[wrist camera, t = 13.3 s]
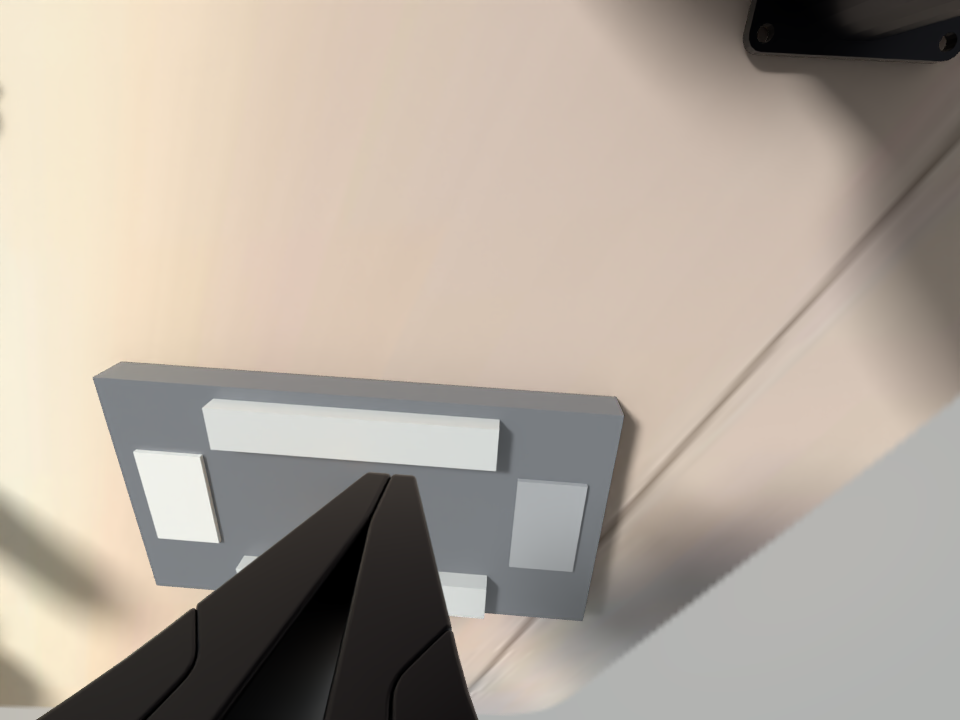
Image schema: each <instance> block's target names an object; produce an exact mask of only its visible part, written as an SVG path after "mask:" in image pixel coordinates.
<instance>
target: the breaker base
mask: <svg viewBox="0 0 960 720" xmlns="http://www.w3.org/2000/svg"><path fill="white" fill-rule="evenodd" d="M93 380H94V383H95V387H96V390H97V393H98V396H99V400H100V403H101V406H102V409H103V413H104V416H105V419H106V422H107V426H108V429H109V432H110V435H111V439H112V442H113V445H114V448H115V451H116V455H117V458H118V461H119V464H120V468H121V471H122V474H123V477H124V481H125V484H126V487H127V490H128V494H129V497H130V500H131V503H132V507H133V510H134V513H135V516H136V520H137V523H138V526H139V529H140V533H141V536H142V539H143V542H144V545H145V549H146V552H147V555H148V558H149V562H150V565H151V568H152V571H153V575H154V578H155V581H156V584H157V585H160V586H172V587H184V588H196V589H208V590H216V589H217V588H219V587H220V586H221V585H223V584H224V583H225V582H226V581H228V580H229V579H230V578H232V577H233V576H234V575H235V574H237V573H238V572H239V571H241V570H242V569H243V568H244V567H246V566H247V565H248V564H250V563H251V562H252V561H254V560H255V559H256V558H257V557H259V556H260V555H261V554H263V553H264V552H265V551H266V550H268V549H269V548H270V547H272V546H273V545H274V544H275V543H277V542H278V541H279V540H281V539H282V538H283V537H284V536H286V535H287V534H288V533H290V532H291V531H292V530H293V529H295V528H296V527H297V526H299V525H300V524H301V523H302V522H304V521H305V520H306V519H308V518H309V517H310V516H311V515H313V514H314V513H315V512H317V511H318V510H319V509H320V508H322V507H323V506H324V505H326V504H327V503H328V502H329V501H331V500H332V499H333V498H335V497H336V496H337V495H339V494H340V493H341V492H342V491H344V490H345V489H346V488H348V487H349V486H350V485H351V484H353V483H354V482H355V481H357V480H358V479H359V478H360V477H362V476H363V475H364V474H366V473H368V472H376V473H388V474H390V475H391V476H392V475H394V474H402V475H413V476H415V477H416V480H417V484H418V488H419V492H420V496H421V501H422V505H423V509H424V513H425V517H426V522H427V526H428V530H429V534H430V539H431V543H432V547H433V551H434V555H435V560H436V564H437V568H438V572H439V576H440V581H441V585H442V589H443V593H444V598H445V602H446V606H447V610H448V614H449V616H457V617H469V618H481V619H484V613H492V614H504V615H516V616H528V617H540V618H552V619H564V620H575V621H583V617H584V612H585V607H586V602H587V597H588V592H589V587H590V582H591V578H592V573H593V568H594V563H595V558H596V553H597V548H598V543H599V538H600V533H601V528H602V523H603V518H604V513H605V509H606V504H607V499H608V494H609V489H610V484H611V479H612V474H613V469H614V464H615V459H616V454H617V449H618V444H619V439H620V435H621V430H622V425H623V420H624V414H623V412H622V409H621V407H620V405H619V403H618V400H617V398H616V397H609V396H595V395H581V394H567V393H553V392H539V391H525V390H511V389H497V388H483V387H469V386H455V385H441V384H427V383H413V382H399V381H385V380H371V379H357V378H343V377H329V376H315V375H301V374H287V373H273V372H259V371H245V370H231V369H217V368H203V367H189V366H175V365H161V364H147V363H133V362H120V363H118V364H116V365H114V366H112V367H110V368H109V369H107V370H105V371H103V372H101V373H100V374H98V375H96V376H94V377H93Z"/></svg>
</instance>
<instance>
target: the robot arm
mask: <svg viewBox="0 0 960 720" xmlns="http://www.w3.org/2000/svg"><path fill="white" fill-rule="evenodd" d="M761 26H763V27H765V28H766V29H767V31H768V37H767V39H766V41H765V42H764V43H762V42H759V40H758V38H757V32H758V30H759V28H760V27H761ZM943 36H945V38H946V40H947V41H946V46H945V48H944V49H943V51H940V48H939V42H940V40H941V39H942V37H943ZM743 44H744V47H745V49H746V50H747V51H748V52H749V53H752V54H755V55H774V56H794V57H813V58H833V59H852V60H871V61H891V62H910V63H930V64H931V63H937V62H942V61H947V60H949V59H951V58H953V57H955V56H956V55H957V54H958V53H959V52H960V0H752V1H751V5H750V9H749V13H748V18H747V22H746V26H745V31H744V35H743ZM451 630H452V627H451V623H450V619H449V614H448V610H447V606H446V602H445V598H444V593H443V589H442V585H441V581H440V576H439V572H438V568H437V564H436V560H435V555H434V551H433V547H432V543H431V539H430V534H429V530H428V526H427V522H426V517H425V513H424V509H423V505H422V501H421V496H420V492H419V488H418V484H417V480H416V477H415V476H413V475H402V474H394V475H392V476H391V475H390V474H388V473H376V472H368V473H366V474H364V475H363V476H362V477H360V478H359V479H358V480H357V481H355V482H354V483H353V484H351V485H350V486H349V487H348V488H346V489H345V490H344V491H342V492H341V493H340V494H339V495H337V496H336V497H335V498H333V499H332V500H331V501H329V502H328V503H327V504H326V505H324V506H323V507H322V508H320V509H319V510H318V511H317V512H315V513H314V514H313V515H311V516H310V517H309V518H308V519H306V520H305V521H304V522H302V523H301V524H300V525H299V526H297V527H296V528H295V529H293V530H292V531H291V532H290V533H288V534H287V535H286V536H284V537H283V538H282V539H281V540H279V541H278V542H277V543H275V544H274V545H273V546H272V547H270V548H269V549H268V550H266V551H265V552H264V553H263V554H261V555H260V556H259V557H257V558H256V559H255V560H254V561H252V562H251V563H250V564H248V565H247V566H246V567H244V568H243V569H242V570H241V571H239V572H238V573H237V574H235V575H234V576H233V577H232V578H230V579H229V580H228V581H226V582H225V583H224V584H223V585H221V586H220V587H219V588H217V589H216V590H215V591H214V592H212V593H211V594H210V595H208V596H207V597H206V598H205V599H203V600H202V601H201V602H199V603H198V604H197V607H196V609H194V608H192V609H190V610H189V611H188V612H186V613H185V614H184V615H182V616H181V617H180V618H178V619H177V620H176V621H175V622H173V623H172V624H171V625H169V626H168V627H167V628H166V629H164V630H163V631H162V632H160V633H159V634H158V635H156V636H155V637H154V638H152V639H151V640H150V641H148V642H147V643H145V644H144V645H143V646H141V647H140V648H139V649H137V650H136V651H135V652H133V653H132V654H131V655H129V656H128V657H127V658H125V659H124V660H123V661H121V662H120V663H118V664H117V665H115V666H114V667H113V668H111V669H110V670H108V671H107V672H105V673H104V674H103V675H101V676H100V677H98V678H97V679H95V680H94V681H92V682H91V683H90V684H88V685H87V686H85V687H84V688H82V689H81V690H79V691H78V692H77V693H75V694H74V695H72V696H71V697H69V698H68V699H66V700H65V701H63V702H62V703H60V704H59V705H57V706H56V707H55V708H53V709H52V710H50V711H49V712H47V713H46V714H44V715H43V716H41V717H40V718H38V719H37V720H478V718H477V715H476V712H475V709H474V706H473V703H472V700H471V698H470V695H469V692H468V688H467V684H466V681H465V677H464V674H463V670H462V666H461V663H460V659H459V655H458V651H457V647H456V643H455V639H454V634H453V632H452V631H451Z"/></svg>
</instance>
